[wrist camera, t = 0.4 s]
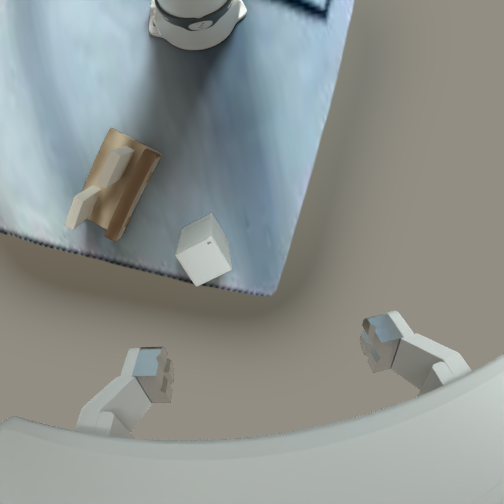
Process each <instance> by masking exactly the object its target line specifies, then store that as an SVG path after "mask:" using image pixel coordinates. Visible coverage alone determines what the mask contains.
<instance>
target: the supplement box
mask: <svg viewBox="0 0 504 504" xmlns="http://www.w3.org/2000/svg"><path fill="white" fill-rule="evenodd" d="M175 256H176V258H177V259H178V261H179V262H180V264H181V265H182V267H183V268H184V270H185V271H186V273H187V274H188V276H189V277H190V279H191V280H192V282H193V283H194V285H195V286H196V287H197V286H199V285H201V284H204V283H206V282H208V281H210V280H212V279H214V278H216V277H218V276H221V275H223V274H225V273H227V272H230V271H232V266H231V259H230V253H229V245H228V240H227V238H226V236H225V234H224V232H223V231H222V229H221V227H220V225H219V223H218V222H217V220H216V218H215V216H214V215H213V213H210V214H208V215H206V216H204V217H202V218H200V219H199V220H197V221H195V222H193V223H191V224H189V225H187V226H185V227H183V228H182V230H181V234H180V238H179V242H178V246H177V250H176V254H175Z"/></svg>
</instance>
